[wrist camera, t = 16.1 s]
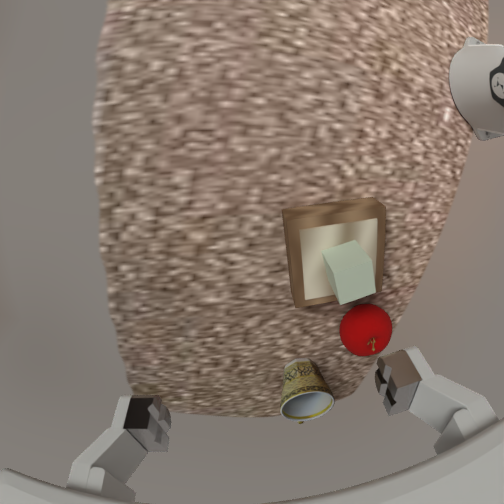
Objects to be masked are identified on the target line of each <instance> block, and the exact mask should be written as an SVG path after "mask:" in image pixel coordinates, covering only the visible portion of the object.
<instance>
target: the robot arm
mask: <svg viewBox="0 0 504 504" xmlns="http://www.w3.org/2000/svg"><path fill="white" fill-rule="evenodd" d="M449 81H450V88H451V93H452V96H453V99H454V102H455V104H456V106H457V108H458V110H459V112H460V113H461V115H462V116H463V117H464V118H465V119H466V120H467V121H468V122H469V124H470V125H471V126H472V128H473V130H474V132H475V135H476V136H477V138H478V139H479V140H488V139H492V138H496V137H500V136H504V47H503V45H500V44H484V43H483V42H481V41H479V40H477V39H476V38H474V37H468V38H467V39H466V41H465V44H464V47H463V48H462V49H461V50H459V51H458V52H457V53H456V54H455V55H454V57H453V59H452V61H451V65H450V71H449ZM377 365H378V367H379V368H378V369H377V370H376V372H375V383H376V387H377V390H378V392H379V394H380V395H382V396H384V401H383V404H384V406H385V408H386V411H387V413H388V415H389V416H390V415H393V414H397V413H400V412H403V411H406V410H409V411H410V412H411V413H413V414H414V415H416V416H417V417H419V418H420V419H422V420H423V421H424V422H426V423H427V424H428V425H430V426H431V427H433V428H434V429H436V430H437V431H438V432H440V433H441V435H440V437H439V438H438V440H437V441H436V443H435V445H434V448H435V451H436V453H437V455H436V456H434V457H432V458H430V459H427V460H425V461H423V462H421V463H418V464H416V465H413V466H411V467H408V468H406V469H404V470H401V471H398V472H395V473H393V474H390V475H387V476H384V477H381V478H379V479H375V480H372V481H369V482H366V483H362V484H359V485H356V486H352V487H348V488H345V489H341V490H337V491H333V492H329V493H324V494H319V495H314V496H309V497H305V498H299V499H292V500H286V501H279V502H271V503H262V504H504V418H502V419H501V420H498V418H497V416H496V414H495V413H494V411H493V409H492V408H491V406H490V405H489V403H488V401H487V400H486V398H485V397H484V396H482V395H480V394H478V393H476V392H474V391H472V390H470V389H468V388H466V387H463V386H462V385H460V384H458V383H456V382H453V381H451V380H449V379H447V378H445V377H443V376H441V375H439V374H438V375H435V374H434V373H433V371H432V369H431V368H430V366H429V365H428V363H427V362H426V360H425V358H424V357H423V355H422V354H421V352H420V351H419V349H418V347H416V346H412V347H410V348H406V349H404V350H399V351H397V352H393V353H391V354H387V355H384V356H381V357H379V358H378V361H377ZM161 402H162V399H161V398H160V397H159V395H122V396H121V397H120V398H119V401H118V404H117V408H116V412H115V415H114V419H113V422H112V426H111V428H108V429H107V430H106V431H105V432H103V434H102V435H100V436H99V437H98V438H97V439H96V440H95V441H94V442H93V443H92V444H91V445H90V446H89V447H88V448H87V449H86V450H85V451H84V452H83V453H82V454H81V455H80V456H79V457H78V458H77V459H76V460H75V461H74V462H73V464H72V468H71V471H70V475H69V479H68V483H67V487H66V488H64V487H61V486H57V485H54V484H51V483H48V482H45V481H42V480H38V479H36V478H33V477H30V476H27V475H25V474H22V473H20V472H17V471H14V470H12V469H9V468H5V469H3V470H1V471H0V504H147V503H139V502H135V494H136V493H135V492H134V490H132V489H131V488H129V487H128V486H126V485H125V483H126V482H127V481H128V479H129V478H130V477H131V475H132V474H133V473H134V471H135V470H136V469H137V467H138V466H139V464H140V463H141V462H142V460H143V459H144V458H145V456H146V455H147V454H148V452H167V451H168V444H169V436H168V435H167V434H166V433H167V432H168V430H169V429H170V428H171V416H170V413H169V410H168V408H167V407H166V406H164V405H163V404H161Z"/></svg>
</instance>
